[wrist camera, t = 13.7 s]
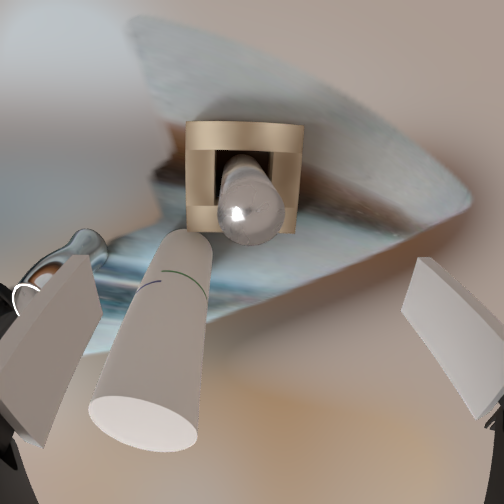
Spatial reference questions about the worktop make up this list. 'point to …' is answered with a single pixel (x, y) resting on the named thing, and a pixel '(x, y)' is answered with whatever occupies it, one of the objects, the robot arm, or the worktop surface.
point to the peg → (248, 203)
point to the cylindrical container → (159, 352)
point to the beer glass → (59, 265)
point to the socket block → (240, 138)
